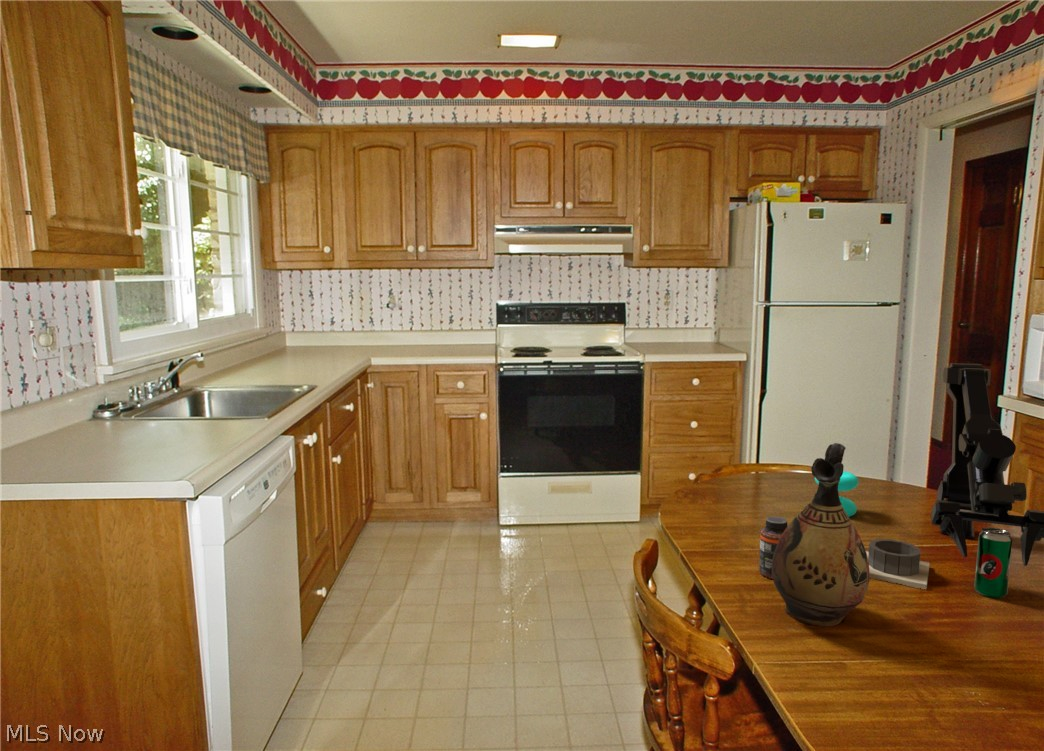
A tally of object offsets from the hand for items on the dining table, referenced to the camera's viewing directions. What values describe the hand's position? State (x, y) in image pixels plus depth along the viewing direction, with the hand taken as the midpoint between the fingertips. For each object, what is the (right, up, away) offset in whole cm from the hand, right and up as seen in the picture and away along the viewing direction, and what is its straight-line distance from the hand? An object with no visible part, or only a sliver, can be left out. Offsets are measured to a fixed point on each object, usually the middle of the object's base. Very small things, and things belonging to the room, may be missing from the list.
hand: (995, 560), depth 122 cm
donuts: (-8, -1, +47) cm, 47 cm away
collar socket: (-12, -5, +12) cm, 18 cm away
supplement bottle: (-36, -6, +11) cm, 38 cm away
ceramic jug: (-35, -8, -5) cm, 36 cm away
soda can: (+1, -7, +2) cm, 7 cm away
